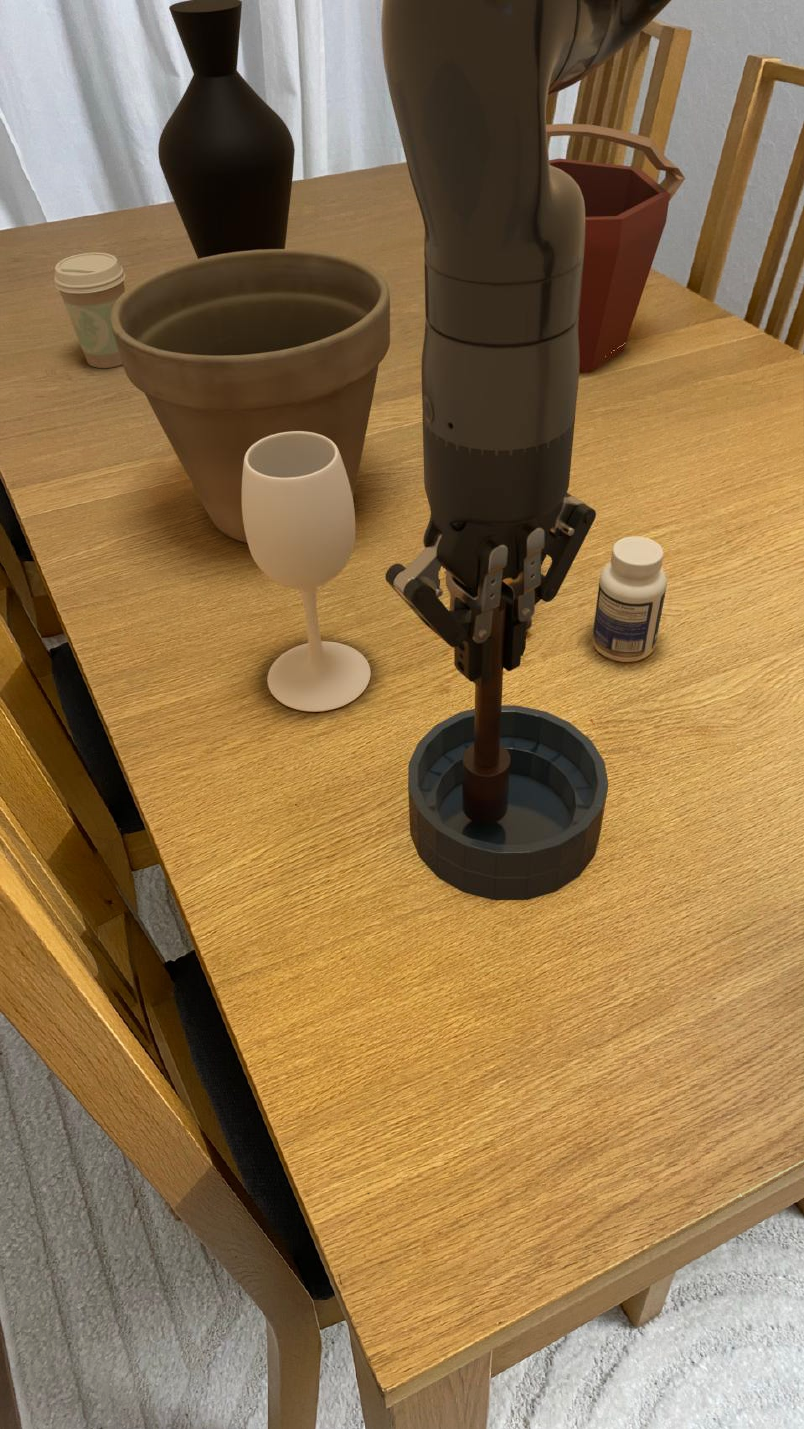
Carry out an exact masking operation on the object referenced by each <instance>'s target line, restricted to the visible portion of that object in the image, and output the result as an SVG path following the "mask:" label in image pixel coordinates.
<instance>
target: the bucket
mask: <svg viewBox="0 0 804 1429" xmlns="http://www.w3.org/2000/svg"><path fill="white" fill-rule="evenodd" d="M546 131H547V138H548V137H549V138H550V137H564V136H569V137H586V138H587V137H588V138H592V139H599V140H604V141H607V142H611V143H615V144H618V145H623V146H625V147H628V148H632V149H635V150H638V151H641V152H643V154H644V155H645V156H646V158H647V160H648V161H649V162H650V163H651V164H652V166H653V167H654V168H655V169H656V170H658V171H663V172H665V173H664V174H665V175H664V176H665V177H664V178H663V179H662V181H661V182H660V183H658V182H657V181H656V180H654V179H653V177H651V176H649V175H648V173H646V171H644V170H643V169H641V168H640V167H638V166H630V165H621V164H615V163H604V162H594V161H585V160H577V159H568V158H554V159H549V163H550V165H552V166H554V167H556V168H559V169H561V170H563V171H564V172H566V173H567V174H568V175H570V176H571V177H572V178H573V179H574V180H575V182H576V183H577V184H578V185H579V187H580V189H581V192H582V195H583V198H584V202H585V250H584V263H583V274H582V285H581V297H580V308H579V315H578V316H579V321H578V334H579V352H580V365H579V374H581V373H593V372H594V371H595V370H597V369H598V368H600V367H602V366H603V365H604V364H606V363H607V362H609V361H610V360H612V359H613V358H615V357H616V356H618V355H619V354H621V353H622V352H623V351H624V350H625V347H626V344H624V343H625V342H626V343H627V341H628V338H629V335H630V332H631V330H632V326H633V323H634V320H635V317H636V314H637V312H638V311H637V310H638V308H639V306H640V302H641V299H642V296H643V293H644V289H645V287H646V283H647V281H648V278H649V274H650V272H651V269H652V265H653V263H654V260H655V257H656V253H657V251H658V248H659V244H660V241H661V238H662V236H663V233H664V229H665V227H666V224H667V219H668V212H669V205H670V201H671V199H673V197H674V196H675V194H676V193H677V192H678V190H679V188H680V187H681V186H682V184H683V183H684V181H685V180H686V177H685V176H684V174H683V173H682V171H681V170H680V168H678V166H677V165H675V164H674V163H673V162H672V161H671V160H670V159H669V158H667V156H666V155H665V154H664V153H663V152H662V151H661V150H660V149H659V147H658V145H657V144H656V142H655V140H654V139H653V138H652V137H651V138H650V137H647V136H643V135H641V134H640V135H639V134H636V133H632V132H628V131H625V130H620V129H616V128H612V127H606V126H601V125H594V124H586V123H585V124H582V123H551V124H546ZM623 344H624V345H623ZM621 345H623V346H621ZM619 346H621V347H619ZM618 347H619V348H618ZM617 348H618V349H617ZM613 350H615V351H613ZM611 352H612V353H611ZM605 356H606V357H605Z"/></svg>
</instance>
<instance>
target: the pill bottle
mask: <svg viewBox="0 0 804 1429" xmlns="http://www.w3.org/2000/svg"><path fill="white" fill-rule="evenodd" d="M664 554H665V553H664V548H663V546H662V545H661V544H660V543H658V542H657V541H656V540H653V539H651V538H649V537H645V536H639V535H638V536H635V535H634V536H633V535H632V536H626V537H623V538H621V539H619V540H617V541H616V542H615V543H614V544H613V546H612V551H611V556H610V557H611V558H610V561H609V562H608V563H606V565H604V567H603V568H602V570H601V572H600V574H599V575H600V576H599V580H598V591H597V597H596V605H595V611H594V622H593V629H592V644H593V646H594V648H595V649H596V650H597V652H598V653H599V654H601V655H602V656H604V657H605V658H607V659H609V660H613V661H615V662H620V663H631V662H632V663H633V662H637V661H640V660H643V659H645V658H646V657H648V656H650V655H651V653H653V652H654V650H655V647H656V644H657V639H658V635H659V630H660V629H659V628H660V623H661V618H662V613H663V607H664V602H665V599H666V598H665V597H666V593H667V586H668V579H667V578H668V577H667V575H666V572H665V571H664V569H663V568H662V567H663V559H664Z"/></svg>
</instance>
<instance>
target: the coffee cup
mask: <svg viewBox="0 0 804 1429" xmlns="http://www.w3.org/2000/svg"><path fill="white" fill-rule="evenodd" d="M54 271H55V272H54V277H53V280H54V287H55V288H56V289H57V290H58V291H59V293H60V296H61V298H62V301H63V304H64V307H65V309H66V311H67V313H68V316H69V318H70V321H71V324H72V327H73V329H74V332H75V334H76V338H77V340H78V342H79V345H80V347H81V350H82V353H83V355H84V358H85V360H86V362H87V364H88V365H89V366H90V367H93V368H97V369H110V368H116V367H119V366H123V364H122V361H121V357H120V354H119V351H118V347H117V344H116V341H115V338H114V335H113V331H112V328H111V325H110V314H111V310H112V307H113V305H114V303H115V302H116V300H117V299H118V298H119V297H120V296H121V295H122V294H123V293H124V292H125V291H126V288H125V282H124V280H125V278H126V273H125V272H124V268H123V266H122V265H121V264H120V263H119V260H118V258H117V257H116V256H114V255H113V254H110V253H106V252H84V253H77V254H74V255H71V256H68V257H65V258H63V259H61V260H60V261H58V262H57V263H56V264H55V267H54Z"/></svg>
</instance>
